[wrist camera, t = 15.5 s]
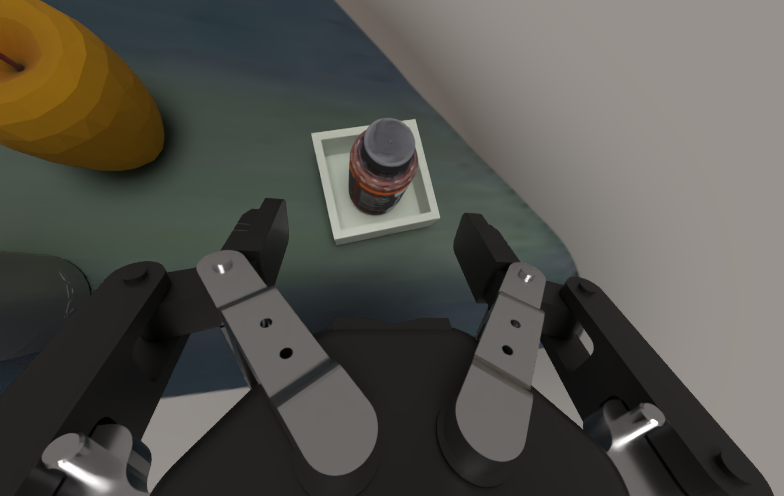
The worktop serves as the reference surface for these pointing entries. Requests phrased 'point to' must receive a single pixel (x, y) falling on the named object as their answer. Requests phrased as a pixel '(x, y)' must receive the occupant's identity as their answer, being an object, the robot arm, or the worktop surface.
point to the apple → (71, 94)
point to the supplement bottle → (381, 166)
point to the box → (344, 215)
